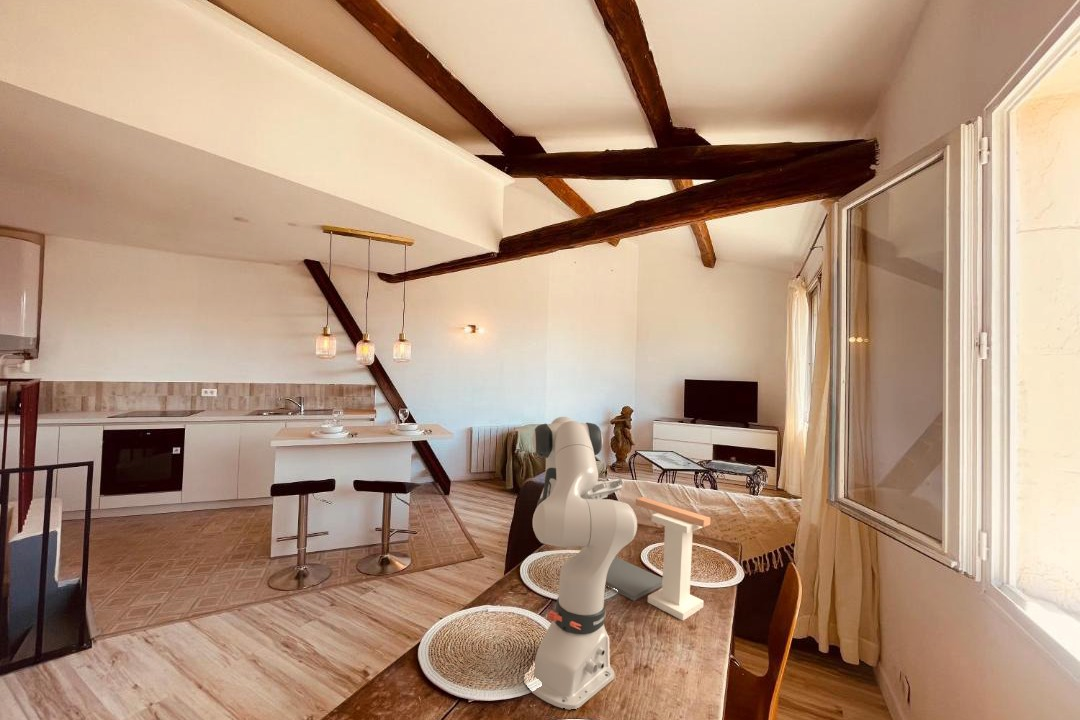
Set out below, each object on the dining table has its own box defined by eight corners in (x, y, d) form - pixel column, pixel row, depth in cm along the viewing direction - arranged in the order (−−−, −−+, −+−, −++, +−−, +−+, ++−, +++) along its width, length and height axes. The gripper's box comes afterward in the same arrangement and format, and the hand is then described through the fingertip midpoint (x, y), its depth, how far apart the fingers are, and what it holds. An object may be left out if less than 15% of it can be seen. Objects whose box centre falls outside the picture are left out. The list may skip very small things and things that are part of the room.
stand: (647, 602, 132) (651, 514, 132) (668, 590, 140) (672, 508, 140) (682, 620, 123) (687, 526, 123) (703, 607, 131) (707, 519, 131)
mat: (573, 568, 151) (573, 564, 151) (606, 556, 163) (606, 552, 163) (633, 601, 132) (633, 596, 132) (665, 584, 144) (665, 579, 144)
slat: (635, 504, 142) (635, 498, 142) (642, 502, 144) (642, 496, 144) (703, 527, 124) (703, 520, 124) (710, 524, 126) (710, 517, 126)
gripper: (565, 488, 155) (591, 478, 146) (602, 481, 169) (628, 471, 159) (571, 506, 153) (597, 496, 144) (607, 497, 166) (634, 487, 157)
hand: (613, 483), depth 152 cm, fingers open, 8 cm apart
